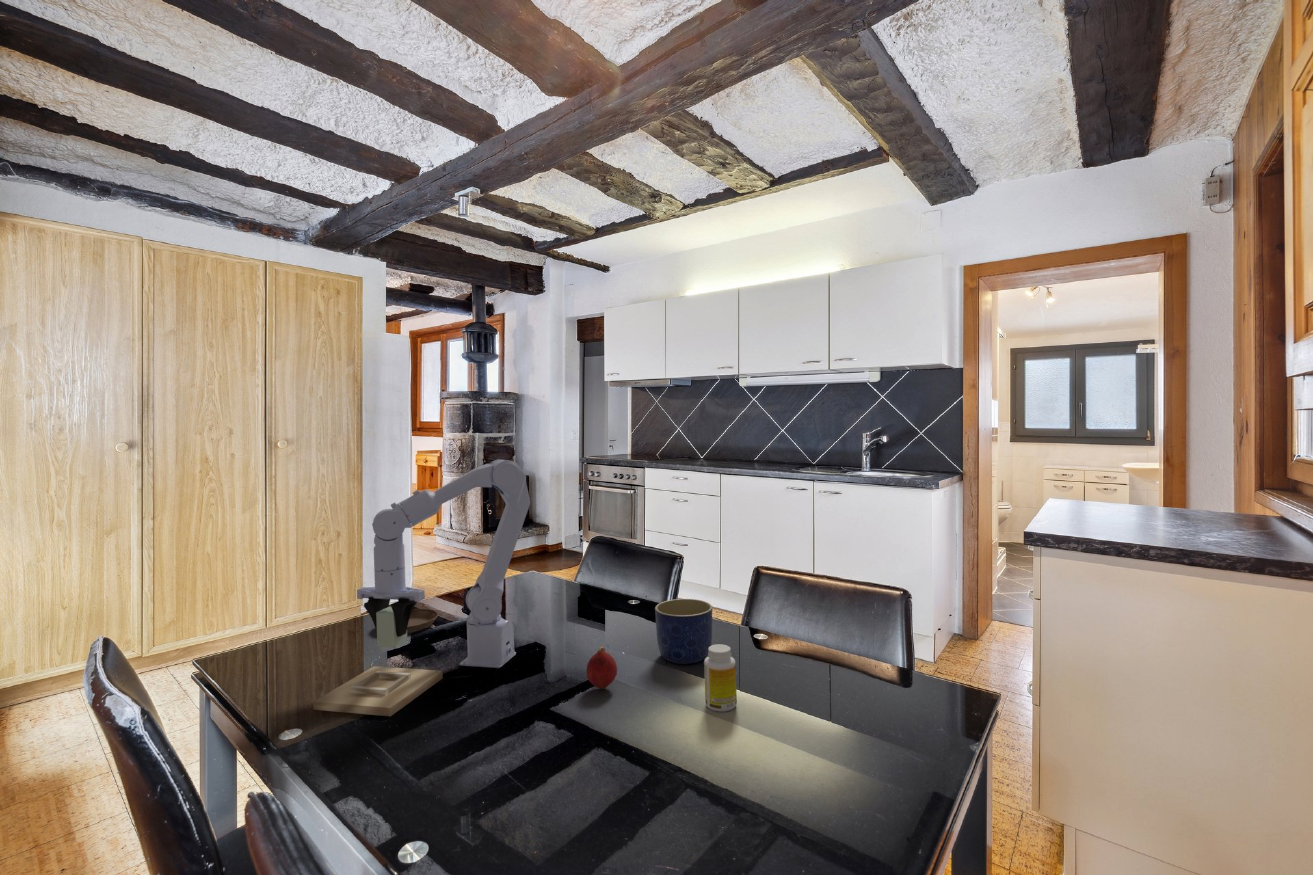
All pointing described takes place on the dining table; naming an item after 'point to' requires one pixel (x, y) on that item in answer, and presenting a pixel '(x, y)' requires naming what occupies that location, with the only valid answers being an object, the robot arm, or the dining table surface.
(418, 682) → the display plinth
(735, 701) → the supplement bottle
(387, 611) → the sage block
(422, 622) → the saucer
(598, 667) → the onion
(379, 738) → the dining table surface
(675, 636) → the planter
